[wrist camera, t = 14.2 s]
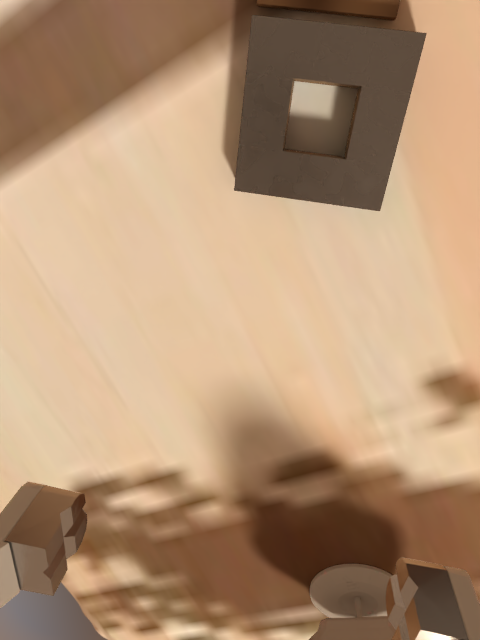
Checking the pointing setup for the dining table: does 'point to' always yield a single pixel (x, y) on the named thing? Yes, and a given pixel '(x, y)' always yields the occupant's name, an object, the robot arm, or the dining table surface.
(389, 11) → the square wooden tray
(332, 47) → the socket block
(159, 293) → the dining table surface
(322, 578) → the beige curvy piece
